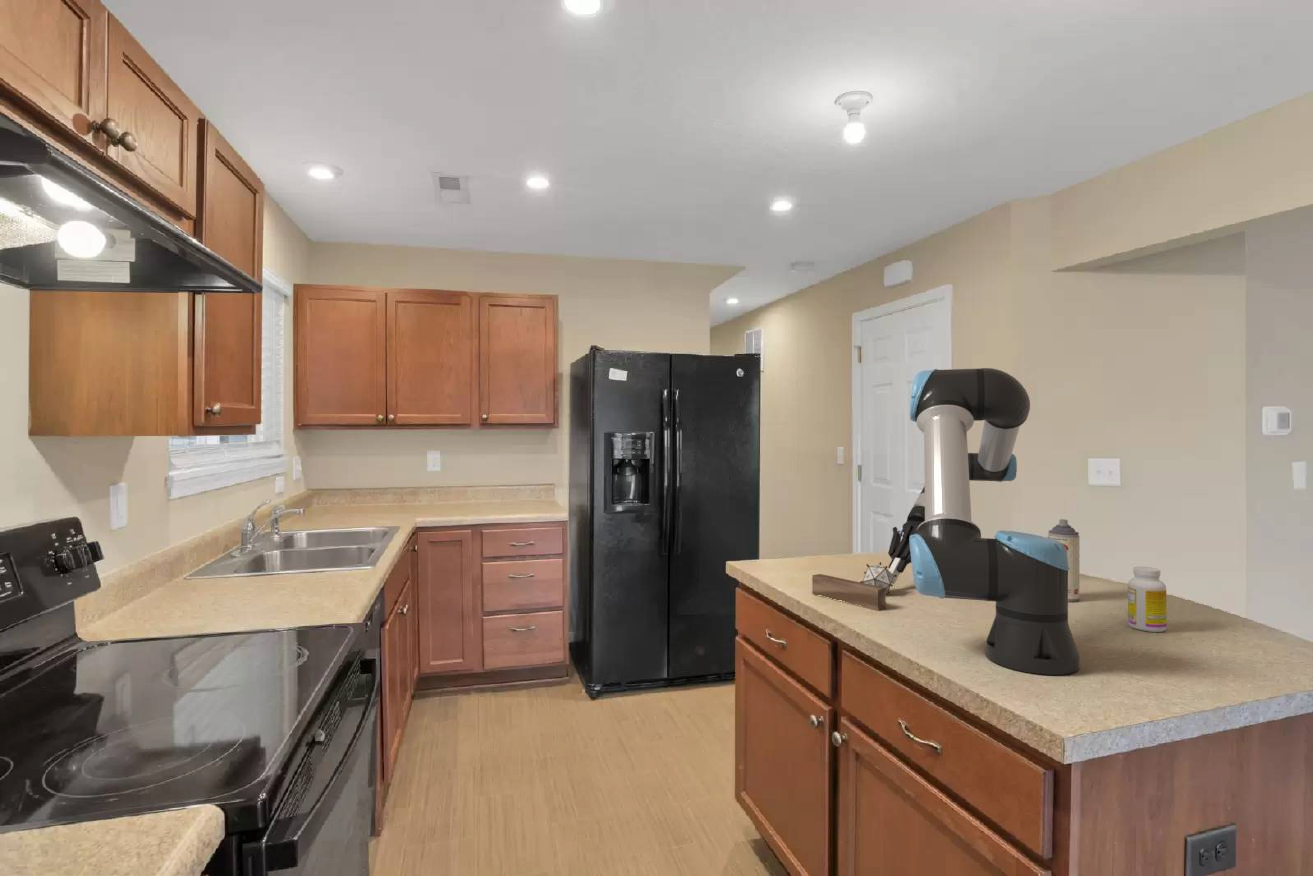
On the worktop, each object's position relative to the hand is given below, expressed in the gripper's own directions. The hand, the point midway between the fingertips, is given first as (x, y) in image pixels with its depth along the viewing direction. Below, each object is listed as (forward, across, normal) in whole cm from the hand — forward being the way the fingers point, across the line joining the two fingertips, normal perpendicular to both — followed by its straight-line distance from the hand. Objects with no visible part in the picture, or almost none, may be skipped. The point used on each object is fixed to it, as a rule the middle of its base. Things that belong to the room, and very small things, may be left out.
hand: (889, 580), depth 177 cm
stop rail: (+15, 0, +10) cm, 18 cm away
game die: (+6, 0, +1) cm, 6 cm away
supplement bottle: (-8, -53, -13) cm, 55 cm away
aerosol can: (-18, -31, -22) cm, 42 cm away
